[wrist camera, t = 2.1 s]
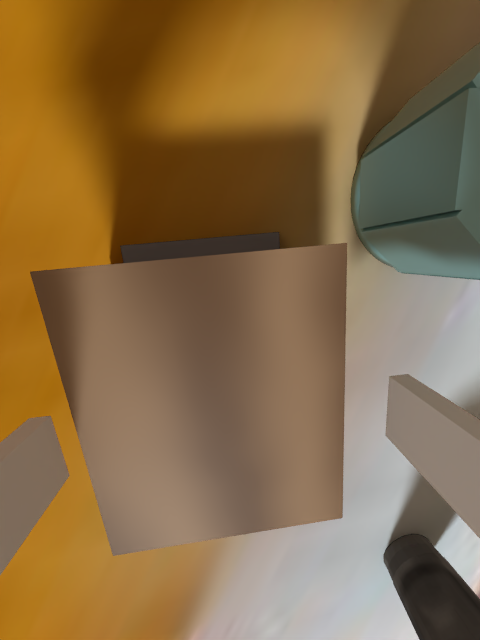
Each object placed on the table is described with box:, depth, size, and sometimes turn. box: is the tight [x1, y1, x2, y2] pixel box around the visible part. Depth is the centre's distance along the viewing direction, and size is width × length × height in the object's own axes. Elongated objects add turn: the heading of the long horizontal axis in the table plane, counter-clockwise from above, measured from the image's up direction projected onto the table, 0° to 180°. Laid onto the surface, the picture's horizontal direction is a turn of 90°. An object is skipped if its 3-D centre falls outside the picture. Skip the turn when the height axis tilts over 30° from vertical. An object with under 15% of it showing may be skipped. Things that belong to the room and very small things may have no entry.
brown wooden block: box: [30, 243, 347, 556], centre depth 13 cm, size 11×13×6 cm
